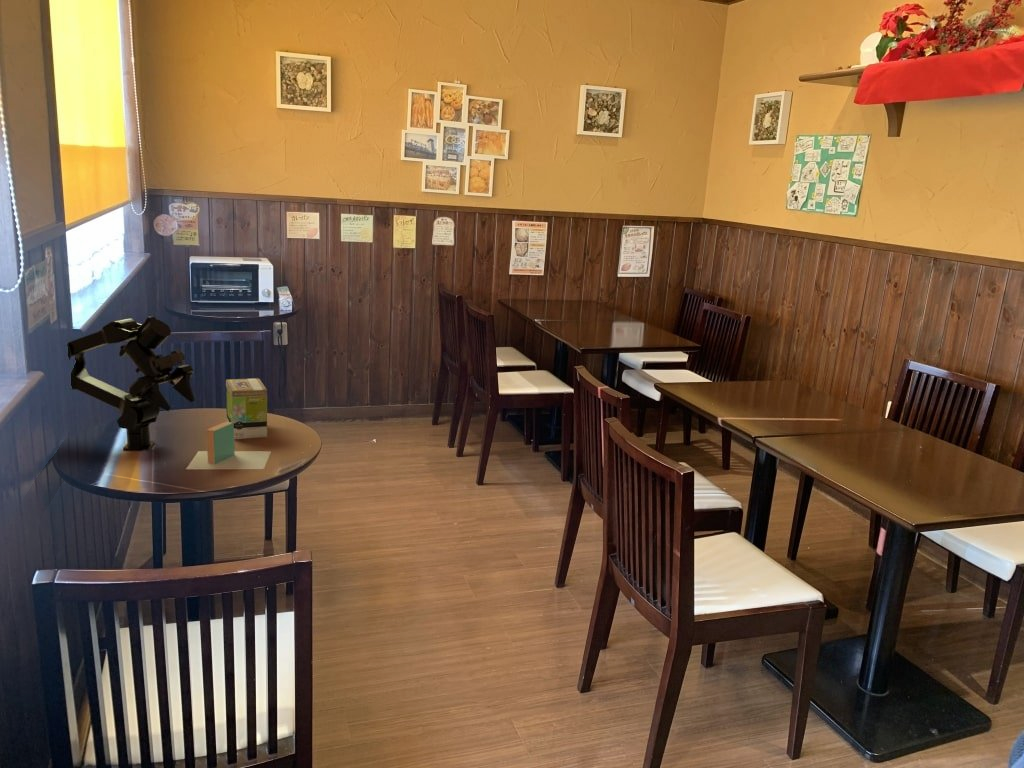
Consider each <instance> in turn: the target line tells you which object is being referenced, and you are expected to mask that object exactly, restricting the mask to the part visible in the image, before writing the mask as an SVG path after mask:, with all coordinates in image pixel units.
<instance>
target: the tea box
mask: <svg viewBox="0 0 1024 768" xmlns="http://www.w3.org/2000/svg"><path fill="white" fill-rule="evenodd" d="M225 396H226V397H225V398H226V399H225V400H226V401H225V405H226V407H225V409H226V422H232V423H234V440H242V439H243V440H244V439H252V438H263V437H265V438H267V436H268V389H267V388H266V386H265V385H264V383H263V382H262V380H261V379H260V378H256V377H255V378H237V379H236V378H234V379H233V378H232V379H230V378H229V379H225Z"/></svg>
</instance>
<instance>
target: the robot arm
mask: <svg viewBox="0 0 1024 768" xmlns="http://www.w3.org/2000/svg"><path fill="white" fill-rule="evenodd" d="M171 334H172V330H171V327H170V326H169V325H168V324H167V323H165V322H164V321H162V320H159V319H157V318H156V317H155V316H153V315H151V316H148V317H147V318H146V319H145V320H144V322H143V323H142V324H141V323H138V322H137V321H136V320H134V319H133V318H125V319H118V320H114V321H113V320H112V321H110V322H108V323H106V324H105V325H104V326H102V327H101V329H100V330H98V331H95V332H92V333H90V334H87V335H85V336H81V337H78V338H75V339H73V340H69V341H67V342H68V344H67V346H68V357H69V361H70V360H71V358H72V357H73V356H75V357H74V358H75V360H76V363H75V365H74V368H73V370H72V372H71V386H72V389H71V390H76V391H79V392H81V393H83V394H85V395H88V396H90V397H92V398H94V399H96V400H98V401H100V402H102V403H105V404H107V405H108V406H111V407H113V408H116V409H117V410H118V411H119V413H120V416H119V417H118V419H116V422H117V425H118V428H120V429H124V430H126V444H125V445H124V446H123V447H122V450H123V451H125V450H126V451H127V450H129V451H135V450H137V451H147V450H150V449H151V447H153V445H154V444H155V440H151V431H150V429H151V428H150V427H151V426H150V424H153V423H156V422H157V418H158V416H159V414H160V408H161V409H162V410H165V411H166V412H169V411H170V410H171V409H172V408H171V406H170V404H169V402H168V401H167V400H166V398H165V396H164V395H163V394H162V392H161V391H160V386H159V385H162V384H165V383H169V384H170V385H172V388H173V389H174V390H175V391H176V392H177V393H179V394H180V395H181V396H182V397H184V399H186V400H187V401H189V402H190V403H191V404H192V403H194V402H195V401H196V400H195V397H194V394H193V391H192V387H191V383H190V381H191V378H192V376H193V373H194V371H195V370H194V368H192V365H190V364H184V360H185V359H186V356H185V354H184V353H183V352H182V350H181V349H180V348H179V349H174V350H172V351H170V354H167V355H165V356H164V355H163V354H157V353H156V352H155V351H154V350H155V349H158V348H159V347H160V346H161V345H162V344H163V343H164V342H165V341H166V340H167V339H168V337H170V335H171ZM123 342H127V343H126V344H123V345H120V350H119V354H118V355H119V357H124V356H128V357H129V358H130V360H131V361H132V362H133V364H134V365H135V367H136V369H135V370H134V371H135V372H136V374H140V373H141V374H142V375H143V376H141V377H140V376H139V377H137V379H135V381H134V382H133V383H131V385H130V386H129V387H128V392H129V393H128V392H125V391H124V390H121V389H119V388H117V387H115V386H113V385H110V384H109V383H106V382H104V381H102V380H99V378H98V379H97V378H95V377H94V376H91V375H90V374H89V373H88V370H87V369H86V368H85V367H86V364H87V363H86V358H85V356H84V355H85V352H87V351H91V350H95V349H97V348H99V347H103V346H105V345H111V344H112V345H113V344H119V343H123ZM178 365H180V366H178ZM175 366H177V367H176V368H175Z"/></svg>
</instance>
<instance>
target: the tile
mask: <svg viewBox="0 0 1024 768" xmlns="http://www.w3.org/2000/svg"><path fill="white" fill-rule="evenodd" d="M206 444H207V445H206V446H207V447H206V449H207V450H206V451H207V453H208V463H213V464H217V463H219V462H221V461H223V460H225V459H227V458H229V457H231V456H233V455H235V451H236V450H235V439H234V423H232V422H227V421H225V422H221V423H219V424H216V425H213V426H212V427H210V428H207V429H206Z"/></svg>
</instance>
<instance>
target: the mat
mask: <svg viewBox="0 0 1024 768" xmlns="http://www.w3.org/2000/svg"><path fill="white" fill-rule="evenodd" d="M234 451H235V455H233V456H231V457H229V458H227V459H225V460H223V461H221V462H219V463H217V464H213V463H208V453H207V450H201V451H199V450H198V451H197V453H196V454H195V455H194V457H193V458H192V460H191V461H190V463H189V464H188V466H187V467H186V468H185V470H265V467H266V465H267V462H268V460H269V458H270V456H271V452H272V451H270V450H268V451H267V450H264V451H263V450H262V451H261V450H259V451H256V450H253V451H252V450H249V451H248V450H244V451H243V450H241V451H239V450H238V451H237V450H234Z"/></svg>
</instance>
